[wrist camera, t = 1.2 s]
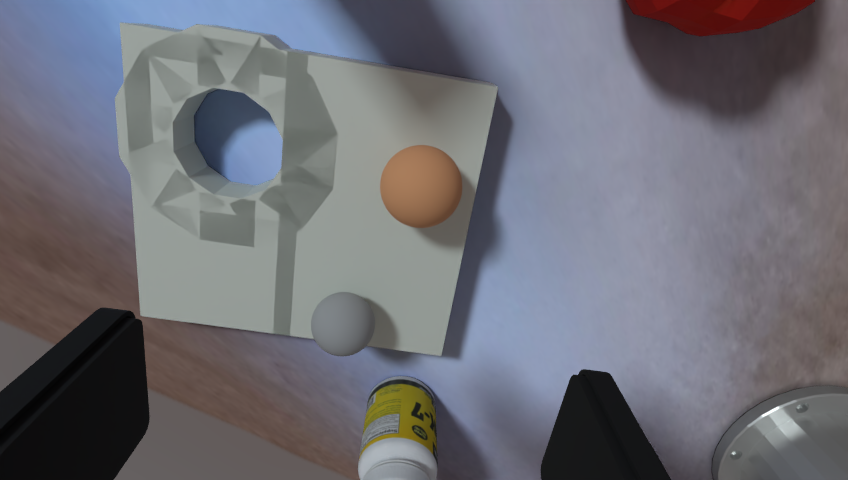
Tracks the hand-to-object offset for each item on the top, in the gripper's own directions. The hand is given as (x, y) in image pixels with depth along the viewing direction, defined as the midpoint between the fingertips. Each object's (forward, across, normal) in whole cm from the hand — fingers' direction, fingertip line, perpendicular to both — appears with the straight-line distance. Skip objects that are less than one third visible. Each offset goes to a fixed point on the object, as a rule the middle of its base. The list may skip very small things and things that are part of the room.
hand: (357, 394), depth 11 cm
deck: (+19, +5, +2) cm, 19 cm away
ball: (+14, -1, -1) cm, 14 cm away
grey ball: (+14, +2, +8) cm, 17 cm away
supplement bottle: (+19, -3, +16) cm, 25 cm away
